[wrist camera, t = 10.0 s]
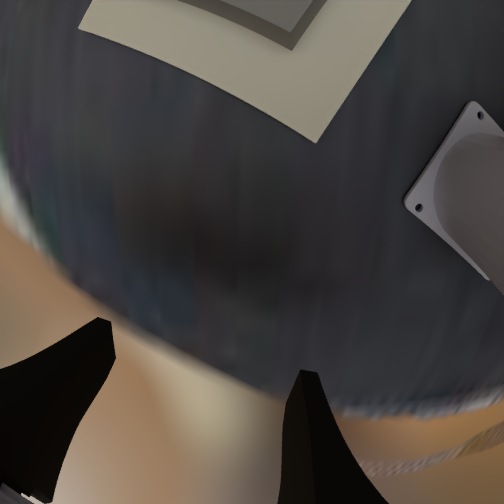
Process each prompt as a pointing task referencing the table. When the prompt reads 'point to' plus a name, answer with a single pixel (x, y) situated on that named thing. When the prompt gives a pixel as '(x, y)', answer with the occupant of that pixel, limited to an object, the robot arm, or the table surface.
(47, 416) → the robot arm
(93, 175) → the table surface
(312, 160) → the table surface
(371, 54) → the socket block on plate
